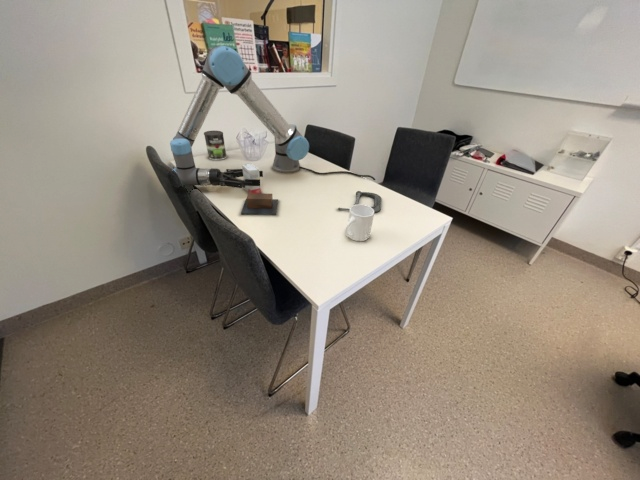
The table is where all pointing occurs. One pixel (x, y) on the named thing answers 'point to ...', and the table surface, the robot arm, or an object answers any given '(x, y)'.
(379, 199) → the c clamp
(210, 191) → the table surface
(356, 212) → the mug
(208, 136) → the coffee can
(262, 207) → the stand
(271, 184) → the table surface
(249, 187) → the ink box
